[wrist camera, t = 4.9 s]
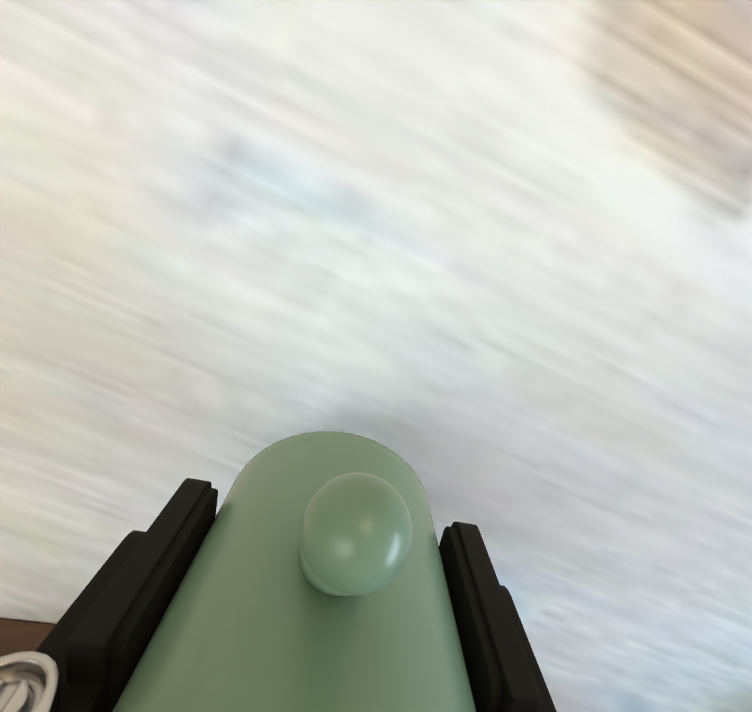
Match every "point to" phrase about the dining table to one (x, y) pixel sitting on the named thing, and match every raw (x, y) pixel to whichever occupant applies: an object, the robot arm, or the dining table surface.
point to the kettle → (311, 594)
